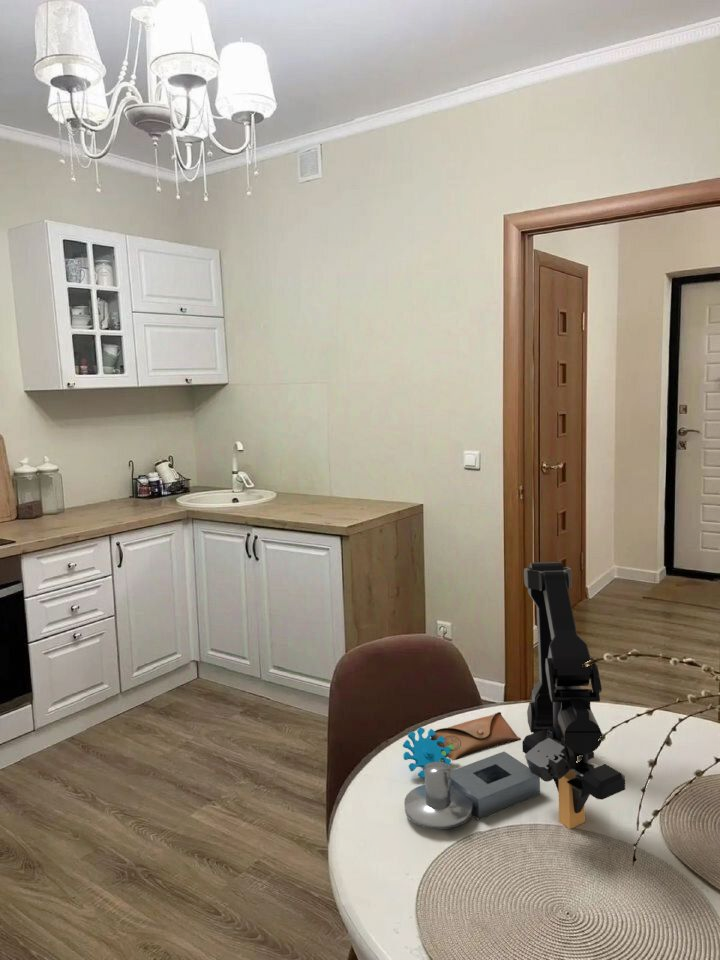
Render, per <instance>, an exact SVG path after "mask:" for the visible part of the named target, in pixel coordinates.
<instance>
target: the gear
mask: <svg viewBox="0 0 720 960" xmlns="http://www.w3.org/2000/svg"><path fill="white" fill-rule="evenodd" d="M425 731H426V729H425V727H424V728H423V727H418V729H417V730H416V732H417V735H418V740H416V732H415V731H410V732H409V733H408V734H407V737H408V738H409V739H410V740H411V742H412V745H413V746H412V745H411V742H410V741H409V740H408V739H406V740H405V741H404V743H403V744H402V747H403V748H405V749H408V750H409V751H410V752H411V753H412V755H411V754H410V753H409V751H404V753H403V756H402V757H403V760H404V761H406V760H407V761H408V760H413V761H414V762H415V763H414V762H412V763H411V762H410V763H409V765H408V769H409V771H410V772H414V771H415V770H416V769H417V768H418V767H422V768H423V769H422V770H420V771H419V772H418V774H417V776H418V777H419V778H421V779H425V770H424V768H425V766H426V765H427V764H428V763H431V762H443V763H445V764H447V765H448V766H450V765H451V763H452V759H450V758H448V757H447V756H448V755H449V753H450V752H451V751H452V750H453V749H454V745H452V744H451V745H449V746H448V747H444V748H443V747H440V746H438V745H437V743H440V744H442V743H444V742H445V740H444V738H443V736H440V737H439V738H438V739H437V740H431V737H432V736H434V735H435V733H436V732H435V730H434V729H432V728H429V730H428V731H427V736H426V737H423V735H424V733H425Z"/></svg>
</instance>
